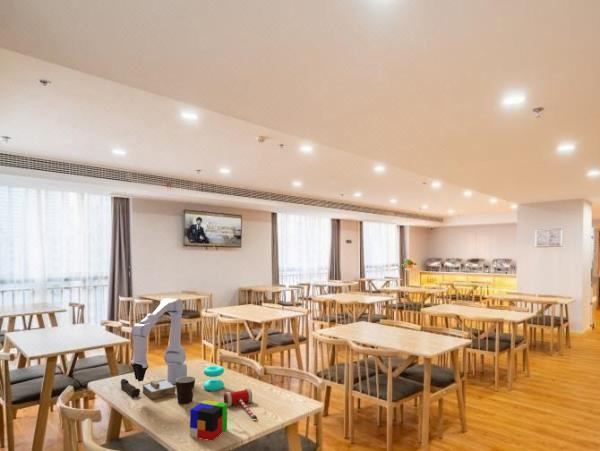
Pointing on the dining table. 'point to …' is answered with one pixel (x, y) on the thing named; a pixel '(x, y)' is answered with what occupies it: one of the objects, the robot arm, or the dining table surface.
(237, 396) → the toy hammer
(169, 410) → the dining table surface
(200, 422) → the puzzle toy
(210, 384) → the donuts
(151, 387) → the lid
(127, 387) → the dark brown wooden log
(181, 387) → the coffee mug
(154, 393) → the wooden tray
